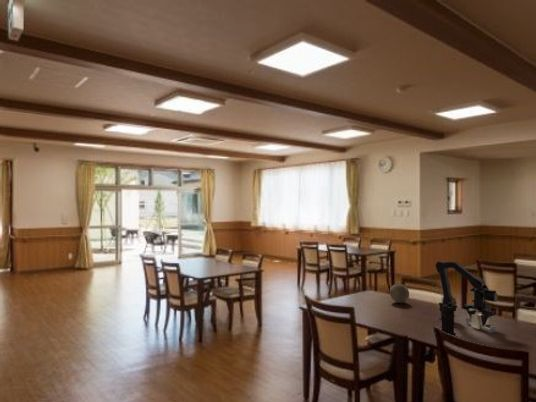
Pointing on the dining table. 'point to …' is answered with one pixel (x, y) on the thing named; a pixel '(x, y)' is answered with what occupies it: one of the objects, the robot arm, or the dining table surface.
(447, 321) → the black fluted column
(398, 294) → the cantaloupe
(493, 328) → the rail
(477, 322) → the carriage
